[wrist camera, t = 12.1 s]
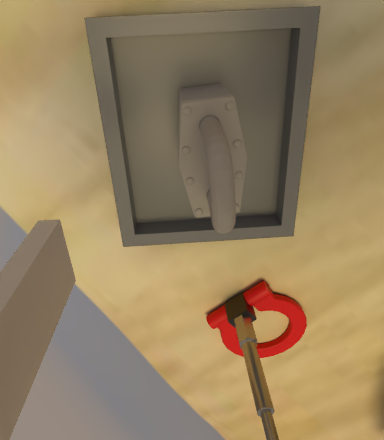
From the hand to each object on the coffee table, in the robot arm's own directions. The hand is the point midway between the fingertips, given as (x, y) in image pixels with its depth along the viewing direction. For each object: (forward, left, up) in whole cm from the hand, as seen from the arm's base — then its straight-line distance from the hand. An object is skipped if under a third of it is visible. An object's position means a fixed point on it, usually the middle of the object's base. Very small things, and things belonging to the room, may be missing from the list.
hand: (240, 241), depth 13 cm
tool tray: (0, 0, -14) cm, 14 cm away
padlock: (0, 0, -13) cm, 13 cm away
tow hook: (-5, +19, -14) cm, 24 cm away
